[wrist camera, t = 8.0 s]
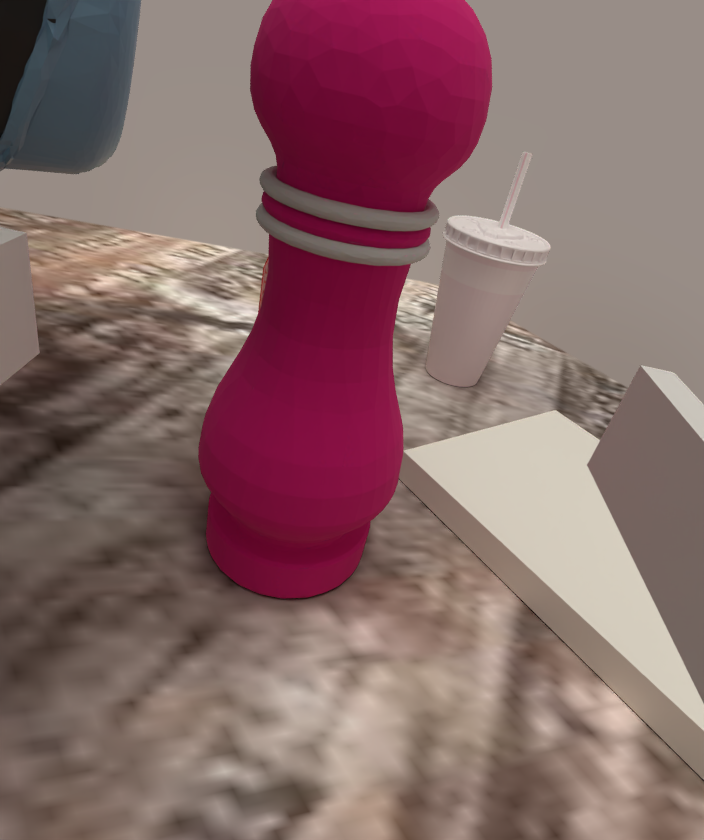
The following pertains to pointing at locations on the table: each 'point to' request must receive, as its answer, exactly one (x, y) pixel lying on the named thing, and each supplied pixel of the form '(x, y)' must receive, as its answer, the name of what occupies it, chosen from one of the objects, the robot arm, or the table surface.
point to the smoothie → (480, 288)
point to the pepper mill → (335, 276)
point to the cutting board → (562, 558)
